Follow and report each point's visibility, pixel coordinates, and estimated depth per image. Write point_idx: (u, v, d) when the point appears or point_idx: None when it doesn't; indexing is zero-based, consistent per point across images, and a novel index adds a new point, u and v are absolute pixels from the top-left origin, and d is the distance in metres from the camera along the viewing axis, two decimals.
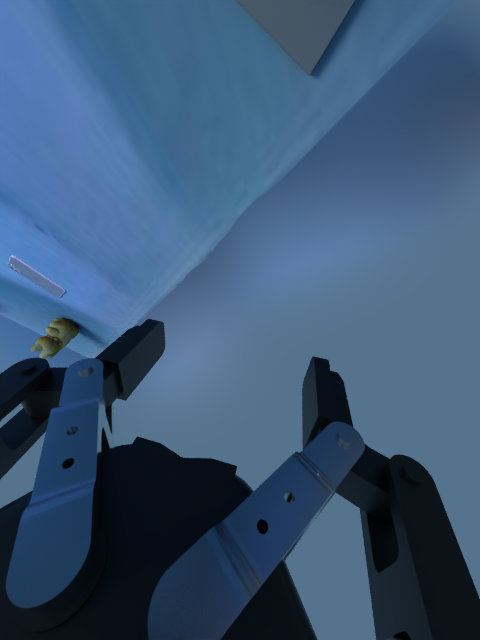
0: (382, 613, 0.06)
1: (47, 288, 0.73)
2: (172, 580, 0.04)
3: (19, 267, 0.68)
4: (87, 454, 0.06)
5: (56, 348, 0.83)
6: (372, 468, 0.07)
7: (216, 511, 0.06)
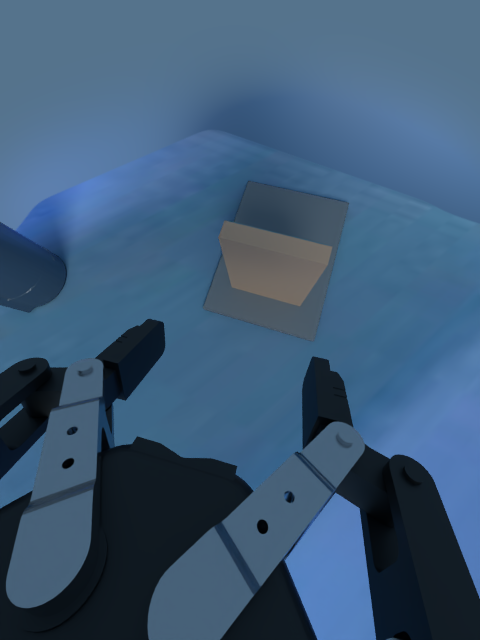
0: (382, 613, 0.06)
1: None
2: (172, 580, 0.04)
3: None
4: (87, 454, 0.06)
5: None
6: (372, 468, 0.07)
7: (216, 511, 0.06)
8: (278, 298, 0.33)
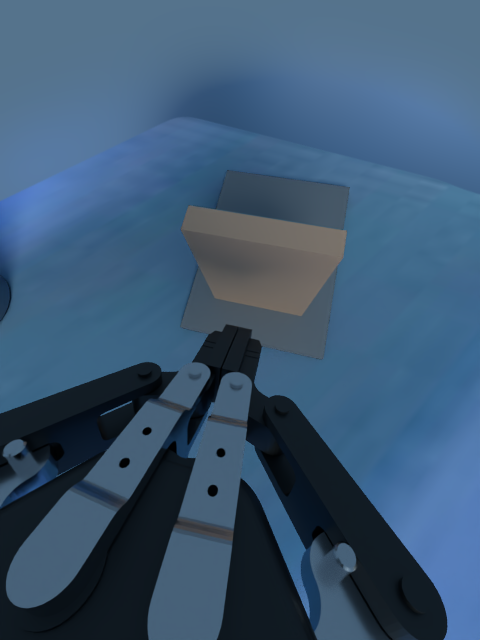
0: (300, 523, 0.07)
1: None
2: (172, 580, 0.04)
3: None
4: (140, 465, 0.06)
5: None
6: (256, 407, 0.09)
7: None
8: (274, 308, 0.26)
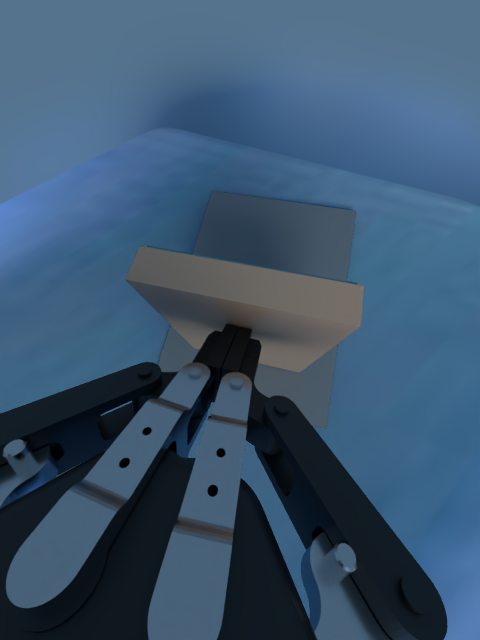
0: (300, 523, 0.07)
1: None
2: (172, 580, 0.04)
3: None
4: (140, 465, 0.06)
5: None
6: (256, 407, 0.09)
7: None
8: (265, 362, 0.21)
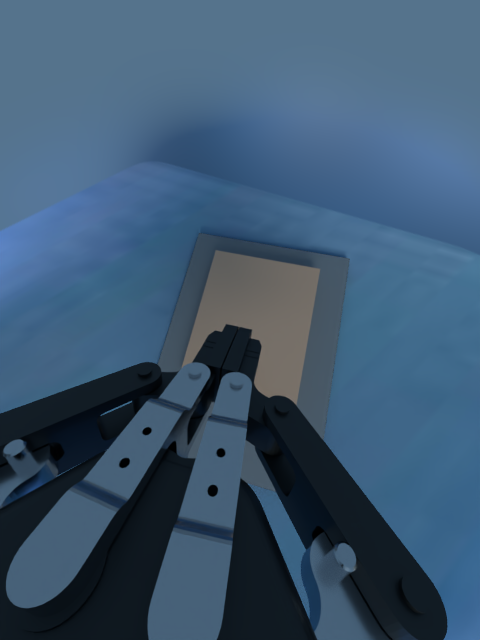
0: (300, 523, 0.07)
1: None
2: (172, 580, 0.04)
3: None
4: (140, 465, 0.06)
5: None
6: (256, 407, 0.09)
7: None
8: None
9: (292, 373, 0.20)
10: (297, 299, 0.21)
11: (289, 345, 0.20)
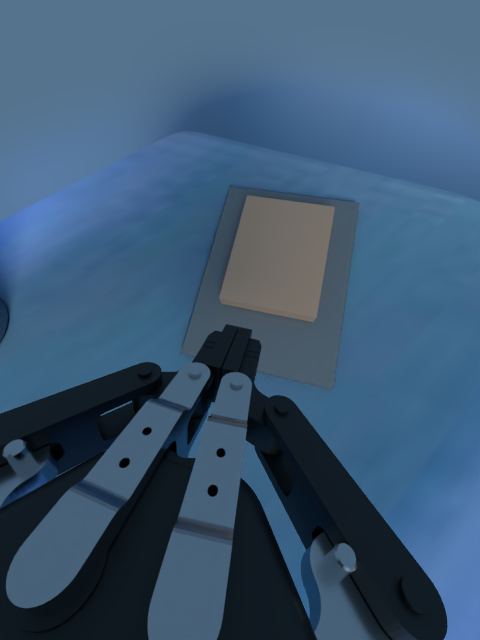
0: (300, 523, 0.07)
1: None
2: (172, 580, 0.04)
3: None
4: (140, 465, 0.06)
5: None
6: (256, 407, 0.09)
7: None
8: (286, 302, 0.24)
9: (314, 286, 0.24)
10: (316, 230, 0.26)
11: (311, 265, 0.25)
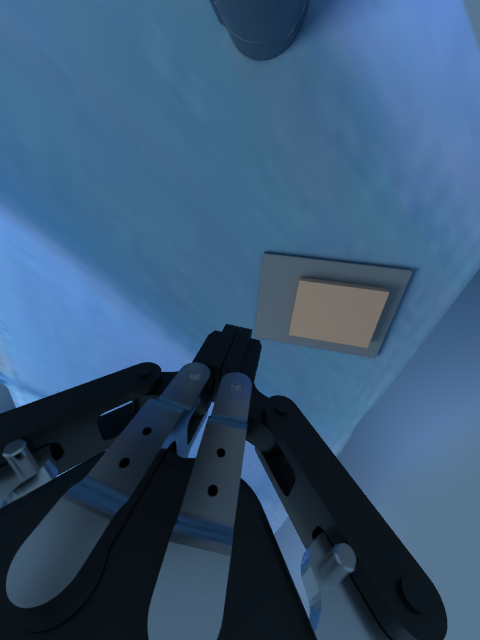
0: (300, 523, 0.07)
1: None
2: (172, 580, 0.04)
3: None
4: (140, 465, 0.06)
5: None
6: (256, 407, 0.09)
7: None
8: (297, 320, 0.40)
9: (308, 334, 0.41)
10: (348, 337, 0.39)
11: (322, 333, 0.40)
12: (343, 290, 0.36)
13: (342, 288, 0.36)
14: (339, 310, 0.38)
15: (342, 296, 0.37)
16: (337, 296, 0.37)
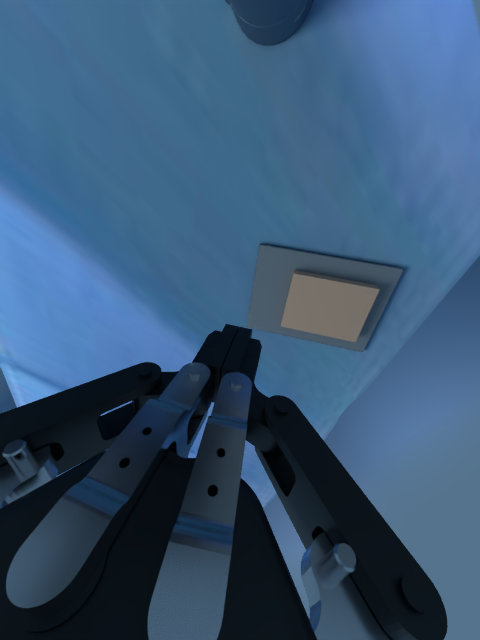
0: (300, 523, 0.07)
1: None
2: (172, 580, 0.04)
3: None
4: (140, 465, 0.06)
5: None
6: (256, 407, 0.09)
7: None
8: (289, 312, 0.41)
9: (299, 326, 0.42)
10: (338, 331, 0.41)
11: (313, 326, 0.41)
12: (335, 285, 0.37)
13: (334, 283, 0.37)
14: (330, 304, 0.39)
15: (334, 291, 0.37)
16: (329, 291, 0.38)
